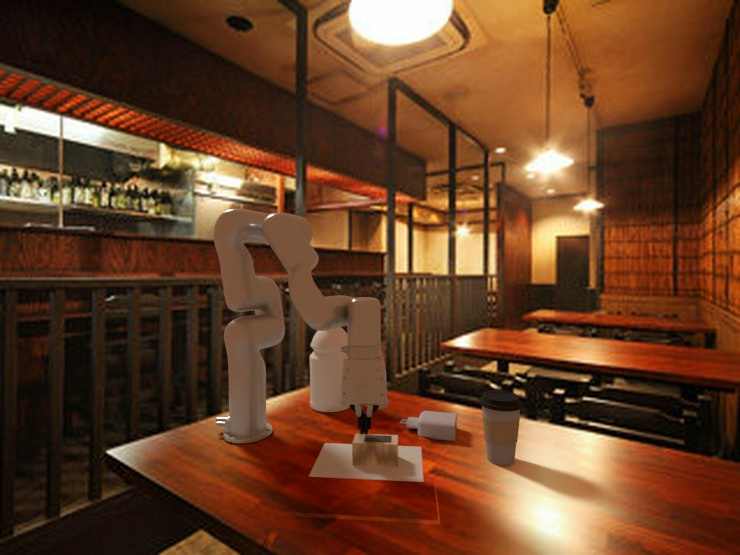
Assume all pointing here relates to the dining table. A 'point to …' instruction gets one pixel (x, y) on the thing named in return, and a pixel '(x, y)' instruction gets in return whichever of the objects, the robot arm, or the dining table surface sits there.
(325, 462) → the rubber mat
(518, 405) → the coffee cup
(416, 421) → the charger
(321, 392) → the bottle
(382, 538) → the dining table surface
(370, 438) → the maple block
